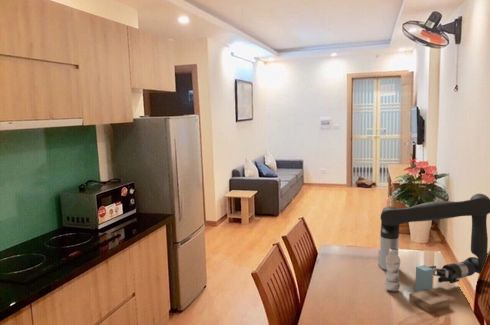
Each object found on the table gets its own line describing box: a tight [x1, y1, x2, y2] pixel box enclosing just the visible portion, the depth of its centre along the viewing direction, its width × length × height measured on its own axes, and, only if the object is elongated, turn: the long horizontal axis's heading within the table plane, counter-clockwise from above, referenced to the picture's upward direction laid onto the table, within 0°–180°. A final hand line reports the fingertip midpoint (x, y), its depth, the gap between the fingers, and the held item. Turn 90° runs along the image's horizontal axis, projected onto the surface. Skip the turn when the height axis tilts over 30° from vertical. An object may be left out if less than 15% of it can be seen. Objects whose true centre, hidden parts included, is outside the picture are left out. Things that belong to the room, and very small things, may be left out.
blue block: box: [414, 264, 434, 292], centre depth 173 cm, size 5×5×12 cm
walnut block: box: [408, 289, 450, 314], centre depth 163 cm, size 11×11×4 cm
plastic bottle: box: [384, 248, 401, 293], centre depth 176 cm, size 6×7×20 cm
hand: (430, 276), depth 175 cm, fingers open, 8 cm apart
